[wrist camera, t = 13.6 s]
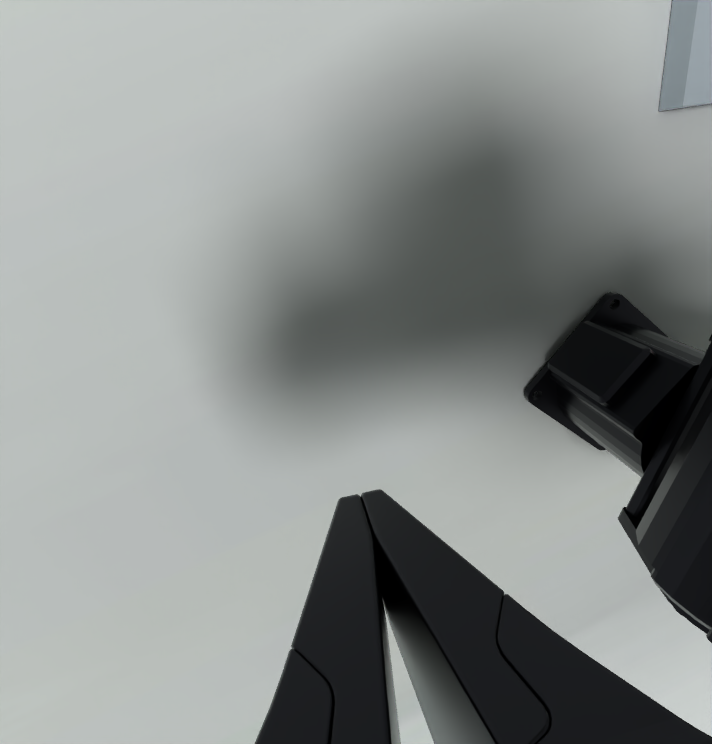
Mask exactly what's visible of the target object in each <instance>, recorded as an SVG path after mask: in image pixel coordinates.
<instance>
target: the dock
mask: <svg viewBox="0 0 712 744" xmlns="http://www.w3.org/2000/svg"><path fill="white" fill-rule="evenodd" d="M708 104H712V0H673V1H672V9H671V17H670V25H669V33H668V41H667V49H666V57H665V65H664V73H663V81H662V89H661V97H660V105H659V111H665V110H672V109H679V108H686V107H694V106H701V105H708Z"/></svg>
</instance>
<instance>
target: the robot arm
mask: <svg viewBox="0 0 712 744" xmlns="http://www.w3.org/2000/svg"><path fill="white" fill-rule="evenodd" d="M613 300H614V303H613V305H612V306H611V307H610V303H611V301H613ZM709 341H711V343H710V345H709V347H708V349H707V351H706V352H703V351H701V350H698V349H696V348H693V347H691V346H688V345H686V344H683V343H680V342H678V341H675V340H673V339H670V338H669V337H667V336H666V335H665V334H664V333H663V332H662V331H661V330H660V329H659V328H658V327H656V326H655V325H654V324H653V323H652V322H651V321H650V320H649V319H648V318H647V317H645V316H644V315H643V314H642V313H641V312H640V311H639V310H638V309H637V308H636V307H634V306H633V305H632V304H631V303H630V302H629V301H628V300H627V299H626V298H624V297H623V296H622V295H620V294H618V293H615V292H609V293H607V294H605V295H604V296H603V297H602V298H601V299H600V300H599V302H598V303H597V304H596V305H595V306H594V308H593V309H592V310H591V311H590V312H589V314H588V315H587V316H586V317H585V318H584V320H583V321H582V322H581V323H580V324H579V326H578V327H577V328H576V329H575V330H574V331H573V333H572V334H571V335H570V336H569V337H568V339H567V340H566V341H565V342H564V343H563V345H562V346H561V347H560V348H559V349H558V351H557V352H556V353H555V354H554V355H553V357H552V358H551V359H550V360H549V361H548V363H547V364H546V365H545V366H544V367H543V369H542V370H541V371H540V372H539V373H538V374H537V376H536V377H535V378H534V379H533V380H532V382H531V383H530V384H529V385H528V386H527V388H526V389H525V391H524V397H525V398H526V400H528V401H529V402H530V403H531V404H533V405H534V406H535V407H537V408H538V409H540V410H541V411H543V412H544V413H546V414H547V415H549V416H550V417H552V418H553V419H555V420H556V421H558V422H559V423H560V424H562V425H563V426H565V427H566V428H568V429H569V430H571V431H572V432H574V433H575V434H577V435H578V436H580V437H581V438H582V439H584V440H585V441H587V442H588V443H590V444H591V445H593V446H594V447H596V448H597V449H599V450H605V449H606V450H608V451H609V452H610V453H611V454H613V455H614V456H615V457H616V458H618V459H619V460H620V461H622V462H623V463H624V464H625V465H627V466H628V467H629V468H630V469H632V470H633V471H634V472H635V473H637V474H638V475H639V476H640V477H642V478H641V480H640V482H639V484H638V486H637V488H636V490H635V491H634V493H633V495H632V497H631V499H630V501H629V503H628V505H627V507H624V508H623V509H622V511H621V513H620V515H619V517H618V520H619V522H620V523H621V525H622V527H623V528H624V530H625V532H626V533H627V535H628V537H629V538H630V540H631V542H632V543H633V545H634V547H635V548H636V550H637V552H638V553H639V555H640V557H641V558H642V560H643V562H644V563H645V565H646V567H647V568H648V570H649V572H650V573H651V577H652V579H653V581H654V582H655V584H656V585H657V586H658V587H659V588H660V590H661V592H662V593H663V594H664V596H665V597H666V598H667V600H668V601H669V602H670V603H671V604H672V605H673V607H674V608H675V610H676V611H677V612H678V613H679V614H681V615H682V616H684V617H685V618H686V619H688V620H689V621H690V622H691V623H692V624H694V625H695V626H697V627H698V628H699V629H701V630H702V631H704V632H705V633H706V634H707V635H706V636H707V639H708V640H709V641H710V642H711V643H712V335H711V337H710V339H709ZM536 391H538V393H537V395H535V396H533V394H534V393H535V392H536ZM383 603H384V604H383ZM384 607H385V610H386V614H387V617H388V620H389V622H390V625H391V628H392V631H393V633H394V636H395V639H396V642H397V644H398V647H399V650H400V652H401V655H402V658H403V660H404V663H405V666H406V668H407V671H408V674H409V677H410V679H411V682H412V685H413V687H414V690H415V693H416V695H417V698H418V701H419V703H420V706H421V709H422V712H423V714H424V717H425V720H426V722H427V725H428V728H429V730H430V733H431V736H432V738H433V741H434V744H712V737H711V736H709V735H707V734H706V733H704V732H702V731H700V730H699V729H697V728H695V727H693V726H692V725H690V724H689V723H687V722H686V721H684V720H682V719H681V718H679V717H678V716H676V715H675V714H673V713H672V712H670V711H669V710H667V709H666V708H664V707H663V706H662V705H660V704H659V703H657V702H656V701H654V700H653V699H651V698H650V697H648V696H647V695H645V694H644V693H642V692H641V691H639V690H638V689H636V688H635V687H633V686H632V685H631V684H629V683H628V682H626V681H625V680H623V679H622V678H620V677H619V676H617V675H616V674H614V673H613V672H611V671H610V670H608V669H607V668H605V667H604V666H602V665H601V664H600V663H598V662H597V661H595V660H594V659H592V658H591V657H589V656H588V655H586V654H585V653H583V652H582V651H581V650H579V649H578V648H576V647H575V646H574V645H572V644H571V643H569V642H568V641H567V640H565V639H564V638H562V637H561V636H559V635H558V634H557V633H555V632H554V631H553V630H551V629H550V628H549V627H547V626H546V625H545V624H544V623H542V622H541V621H540V620H539V619H537V618H536V617H535V616H533V615H532V614H531V613H530V612H528V611H527V610H526V609H525V608H523V607H522V606H521V605H520V604H519V603H517V602H516V601H515V600H514V599H513V598H511V597H510V596H509V595H508V594H505V595H504V591H503V590H502V589H500V588H499V587H498V586H497V585H496V584H494V583H493V582H492V581H491V580H490V579H488V578H487V577H486V576H485V575H484V574H482V573H481V572H480V571H479V570H477V569H476V568H475V567H474V566H473V565H471V564H470V563H469V562H468V561H467V560H465V559H464V558H463V557H462V556H461V555H459V554H458V553H457V552H456V551H455V550H453V549H452V548H451V547H450V546H449V545H447V544H446V543H445V542H444V541H443V540H441V539H440V538H439V537H438V536H437V535H435V534H434V533H433V532H432V531H431V530H429V529H428V528H427V527H426V526H425V525H423V524H422V523H421V522H420V521H419V520H417V519H416V518H415V517H414V516H413V515H411V514H410V513H409V512H408V511H406V510H405V509H404V508H403V507H402V506H400V505H399V504H398V503H397V502H396V501H394V500H393V499H392V498H391V497H390V496H388V495H387V494H386V493H385V492H384V491H382V490H374V491H369V492H365V493H362V494H361V497H360V496H359V495H358V494H356V495H351V496H347V497H342V498H340V499H339V501H338V503H337V506H336V509H335V512H334V515H333V519H332V522H331V525H330V528H329V531H328V534H327V537H326V540H325V543H324V546H323V549H322V553H321V556H320V559H319V562H318V565H317V568H316V571H315V574H314V577H313V580H312V583H311V587H310V590H309V593H308V596H307V599H306V602H305V605H304V608H303V611H302V614H301V617H300V620H299V624H298V627H297V630H296V633H295V636H294V639H293V642H292V645H291V647H292V649H291V650H290V651H289V654H288V657H287V660H286V663H285V666H284V669H283V672H282V675H281V678H280V681H279V683H278V686H277V689H276V692H275V695H274V697H273V700H272V703H271V706H270V708H269V711H268V713H267V716H266V718H265V720H264V723H263V725H262V727H261V730H260V732H259V735H258V737H257V739H256V742H255V744H401V742H400V733H399V725H398V716H397V708H396V699H395V691H394V682H393V674H392V665H391V657H390V649H389V640H388V632H387V624H386V617H385V610H384Z"/></svg>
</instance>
